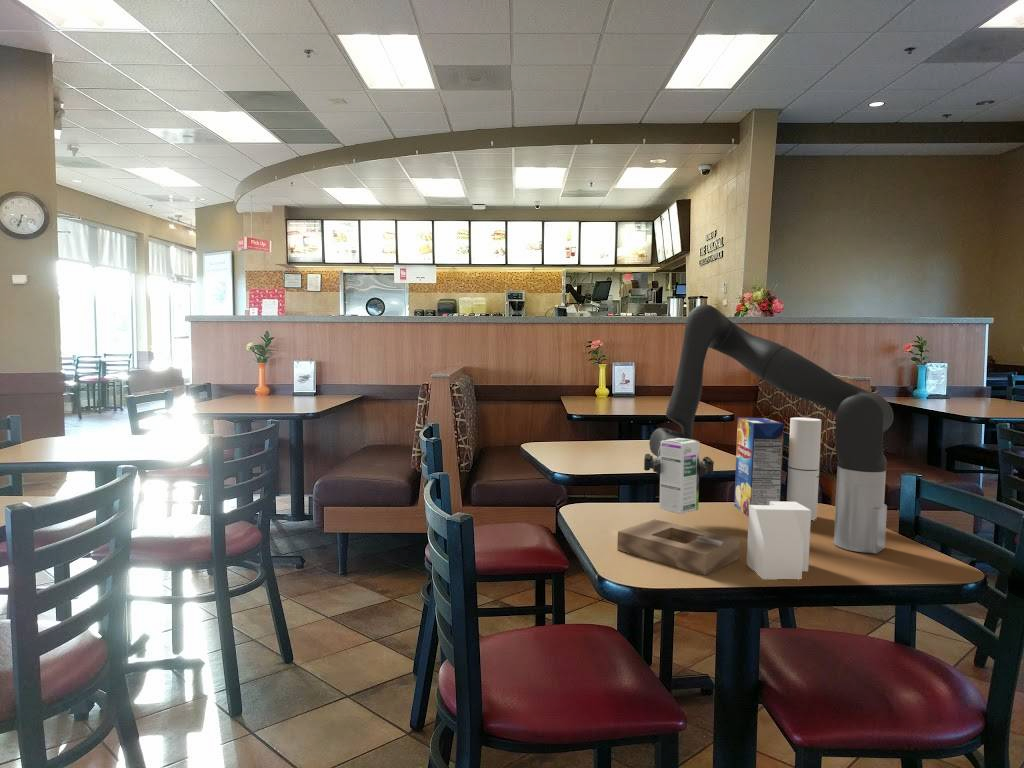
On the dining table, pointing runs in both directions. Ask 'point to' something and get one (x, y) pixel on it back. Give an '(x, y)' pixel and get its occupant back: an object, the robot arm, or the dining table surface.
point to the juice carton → (758, 462)
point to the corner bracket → (779, 540)
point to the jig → (679, 546)
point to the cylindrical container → (804, 462)
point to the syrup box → (679, 475)
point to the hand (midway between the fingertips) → (680, 470)
